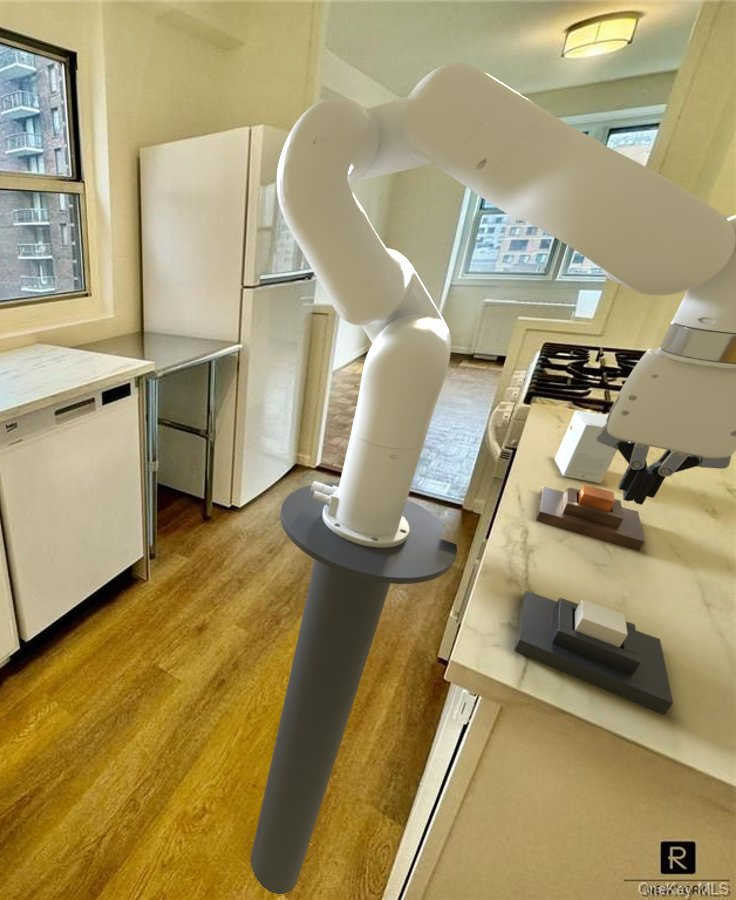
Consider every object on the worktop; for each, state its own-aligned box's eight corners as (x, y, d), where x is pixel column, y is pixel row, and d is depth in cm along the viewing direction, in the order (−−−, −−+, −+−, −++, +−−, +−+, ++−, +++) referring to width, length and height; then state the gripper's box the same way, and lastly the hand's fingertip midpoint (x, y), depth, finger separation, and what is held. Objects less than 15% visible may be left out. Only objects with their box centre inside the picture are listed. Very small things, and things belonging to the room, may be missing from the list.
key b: (578, 504, 75) (583, 493, 74) (578, 495, 77) (583, 484, 76) (608, 513, 73) (615, 501, 72) (607, 503, 75) (613, 491, 74)
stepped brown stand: (535, 520, 76) (544, 501, 75) (539, 494, 83) (546, 477, 82) (639, 551, 69) (651, 531, 68) (633, 520, 76) (643, 501, 75)
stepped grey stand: (514, 650, 53) (525, 627, 52) (520, 600, 60) (531, 578, 59) (664, 715, 47) (683, 690, 45) (652, 650, 54) (668, 627, 52)
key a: (574, 631, 52) (582, 617, 51) (574, 612, 54) (581, 599, 54) (618, 649, 50) (627, 634, 49) (616, 628, 52) (625, 614, 52)
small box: (600, 484, 86) (628, 431, 82) (561, 476, 89) (585, 424, 84) (589, 466, 93) (614, 415, 88) (553, 459, 95) (575, 409, 90)
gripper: (819, 351, 47) (719, 508, 56) (616, 329, 56) (555, 467, 64) (844, 367, 42) (729, 537, 51) (616, 340, 51) (550, 488, 59)
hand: (632, 497), depth 57 cm, fingers closed
